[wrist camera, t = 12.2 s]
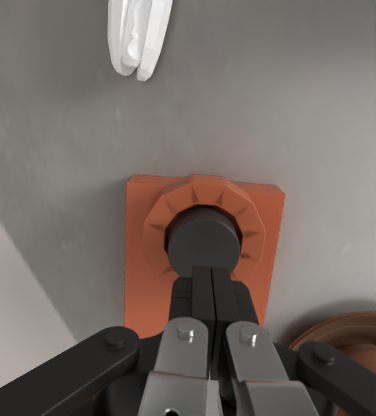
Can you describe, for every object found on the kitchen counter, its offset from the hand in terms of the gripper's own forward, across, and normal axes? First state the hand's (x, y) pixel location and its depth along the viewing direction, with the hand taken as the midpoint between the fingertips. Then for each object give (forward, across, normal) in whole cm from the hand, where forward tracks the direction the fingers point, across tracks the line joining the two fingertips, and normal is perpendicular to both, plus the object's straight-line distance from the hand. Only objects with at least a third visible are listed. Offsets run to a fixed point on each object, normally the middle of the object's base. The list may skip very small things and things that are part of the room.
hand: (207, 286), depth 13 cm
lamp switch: (+5, 0, 0) cm, 5 cm away
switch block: (+8, 0, +3) cm, 9 cm away
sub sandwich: (+8, +4, -12) cm, 15 cm away
